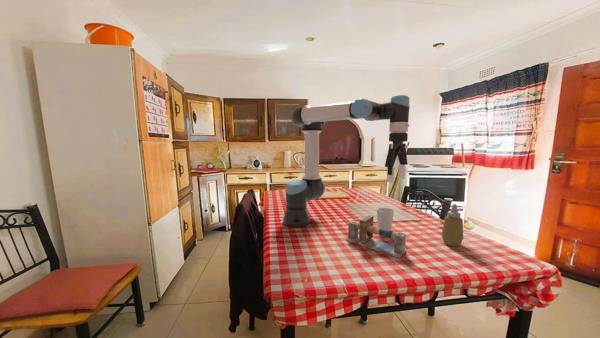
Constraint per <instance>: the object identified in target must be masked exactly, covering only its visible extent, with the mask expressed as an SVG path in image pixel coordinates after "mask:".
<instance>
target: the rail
mask: <svg viewBox="0 0 600 338" xmlns="http://www.w3.org/2000/svg"><path fill="white" fill-rule="evenodd" d="M347 226H348V227H347V232H348V233H347V237H346V238H345V241H346V242H350V243H353V244H355V245H359V246H363V247H365V248H368V249H371V250H374V251H377V252H380V253H382V254H386V255H389V256H392V257H395V258H398V259H401V258H402V256H403V255H404V254H405V253H406V252H407V248H406V237H407V236H406V233H404V232H400V231H396V230H395V231H392V230H391V231H390V230H386V229H382V228H379V227H378V226H375V225H373V226H371V225H369V226H367V227H366V231H367V232H371V233H373V235H378V236H382V237H386V238H389V239H392V240H393V241H394V243H393V244H391V243H389V242H386V241H385V242H384V241H381V240H378V239H374V238H371V239H370V240H368V241H367V242H366V243H361V242H359V229H360V221H356V220H351V221H349V222H348V225H347Z"/></svg>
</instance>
